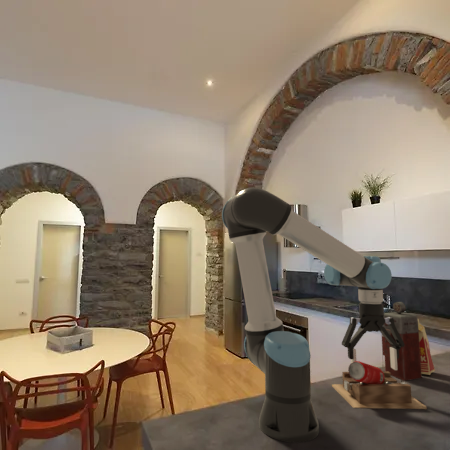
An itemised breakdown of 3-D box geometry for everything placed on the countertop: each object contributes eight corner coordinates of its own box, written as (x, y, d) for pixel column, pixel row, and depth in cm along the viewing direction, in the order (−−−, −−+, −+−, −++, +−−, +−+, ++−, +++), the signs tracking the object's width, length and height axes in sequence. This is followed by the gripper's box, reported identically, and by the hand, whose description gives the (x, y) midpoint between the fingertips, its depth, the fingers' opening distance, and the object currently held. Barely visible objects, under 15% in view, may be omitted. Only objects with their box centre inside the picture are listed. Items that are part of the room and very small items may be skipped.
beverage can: (381, 365, 108) (361, 355, 100) (389, 386, 104) (368, 377, 95) (364, 370, 111) (343, 360, 102) (371, 390, 107) (350, 382, 98)
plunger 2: (387, 390, 104) (386, 382, 105) (383, 387, 107) (382, 380, 107) (407, 390, 105) (407, 382, 105) (403, 387, 107) (403, 380, 107)
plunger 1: (347, 391, 104) (347, 383, 104) (344, 388, 106) (344, 380, 107) (368, 390, 104) (367, 383, 105) (364, 388, 107) (364, 380, 107)
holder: (353, 411, 96) (352, 389, 97) (331, 387, 114) (331, 369, 115) (426, 410, 97) (425, 388, 97) (393, 387, 114) (392, 369, 115)
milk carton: (410, 365, 139) (407, 317, 141) (435, 370, 132) (432, 320, 134) (403, 370, 132) (400, 320, 134) (429, 376, 126) (425, 323, 128)
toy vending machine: (380, 373, 128) (377, 301, 131) (401, 370, 132) (397, 300, 135) (399, 381, 120) (395, 304, 123) (421, 377, 124) (417, 302, 127)
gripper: (338, 304, 104) (341, 373, 102) (414, 303, 105) (418, 372, 103) (330, 301, 112) (332, 365, 110) (400, 300, 113) (404, 365, 110)
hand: (374, 369), depth 106 cm, fingers open, 13 cm apart
